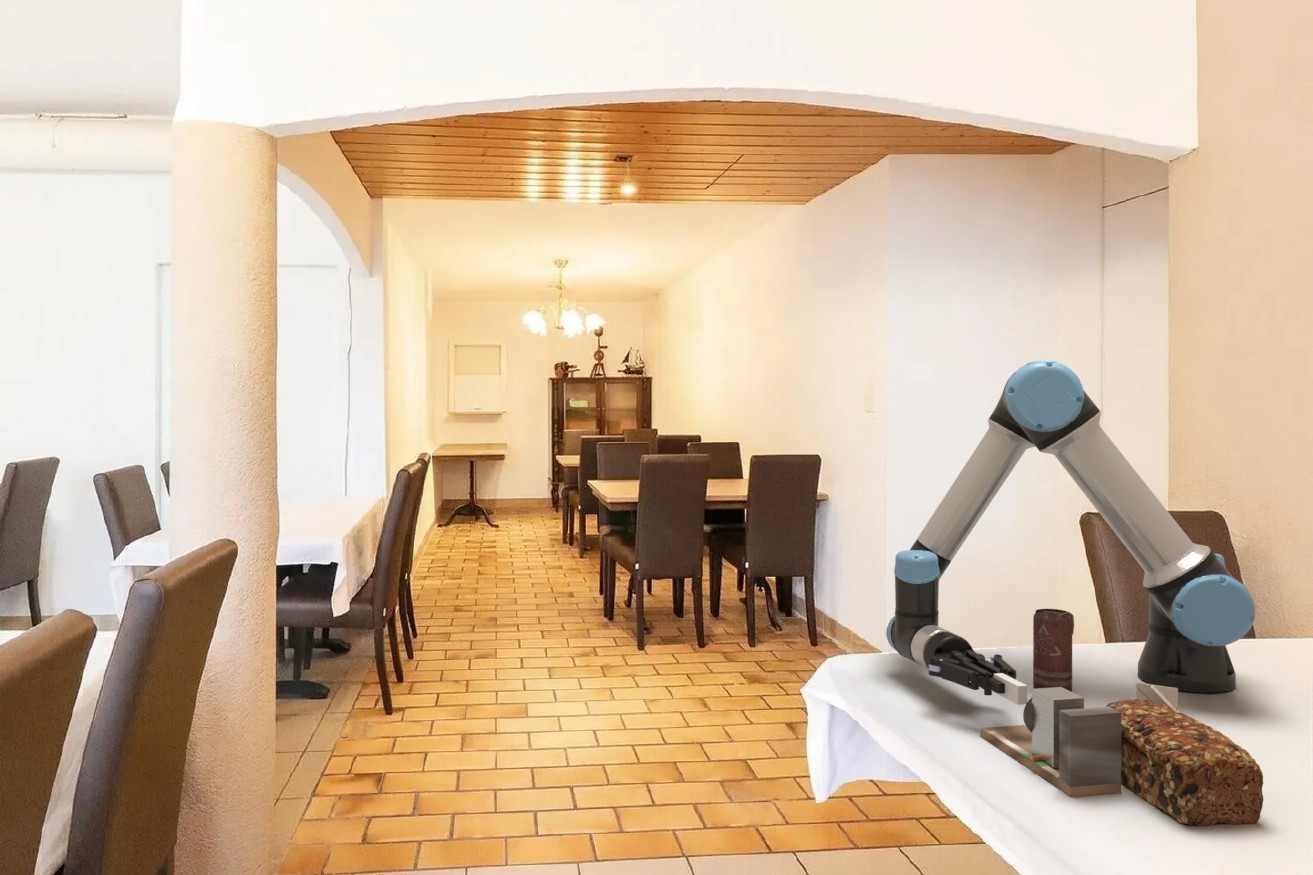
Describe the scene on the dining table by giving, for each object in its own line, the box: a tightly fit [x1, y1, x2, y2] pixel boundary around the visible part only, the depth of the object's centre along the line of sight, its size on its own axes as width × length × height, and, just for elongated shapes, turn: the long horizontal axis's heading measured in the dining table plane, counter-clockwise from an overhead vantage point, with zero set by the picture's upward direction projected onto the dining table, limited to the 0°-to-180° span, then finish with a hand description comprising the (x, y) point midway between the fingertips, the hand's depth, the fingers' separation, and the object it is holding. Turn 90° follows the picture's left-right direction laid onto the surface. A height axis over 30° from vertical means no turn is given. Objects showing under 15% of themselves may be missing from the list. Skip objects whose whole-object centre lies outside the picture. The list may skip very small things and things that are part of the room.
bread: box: [1105, 698, 1264, 827], centre depth 116 cm, size 19×11×10 cm, turn 4°
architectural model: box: [1135, 682, 1180, 713], centre depth 137 cm, size 3×7×7 cm, turn 55°
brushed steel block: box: [1022, 687, 1085, 768], centre depth 124 cm, size 6×7×9 cm
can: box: [1032, 608, 1075, 692], centre depth 157 cm, size 6×6×14 cm
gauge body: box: [979, 706, 1122, 798], centre depth 126 cm, size 22×7×10 cm, turn 10°
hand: (1022, 695), depth 132 cm, fingers closed
